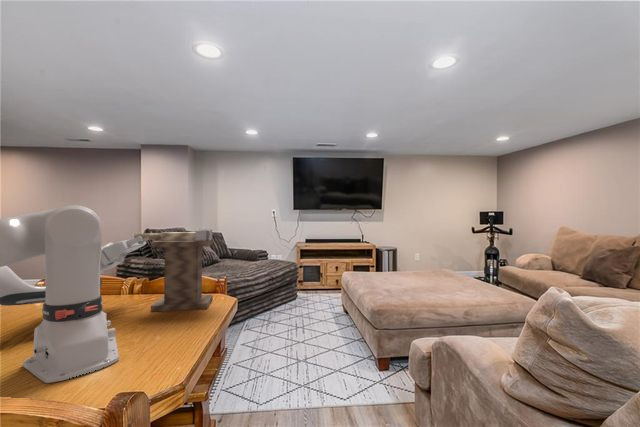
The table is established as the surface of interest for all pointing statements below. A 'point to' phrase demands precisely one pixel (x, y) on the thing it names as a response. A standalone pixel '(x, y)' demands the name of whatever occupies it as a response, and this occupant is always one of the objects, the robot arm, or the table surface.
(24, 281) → the robot arm
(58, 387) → the table surface
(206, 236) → the cup bracket
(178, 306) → the walnut stand
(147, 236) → the ash rail
